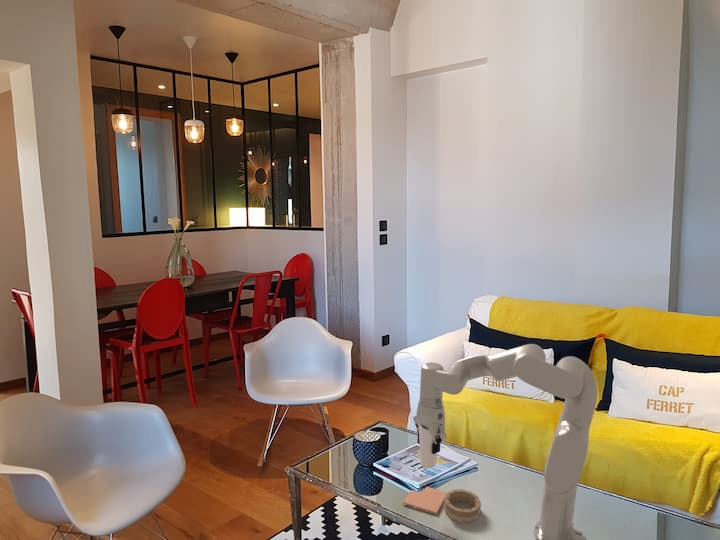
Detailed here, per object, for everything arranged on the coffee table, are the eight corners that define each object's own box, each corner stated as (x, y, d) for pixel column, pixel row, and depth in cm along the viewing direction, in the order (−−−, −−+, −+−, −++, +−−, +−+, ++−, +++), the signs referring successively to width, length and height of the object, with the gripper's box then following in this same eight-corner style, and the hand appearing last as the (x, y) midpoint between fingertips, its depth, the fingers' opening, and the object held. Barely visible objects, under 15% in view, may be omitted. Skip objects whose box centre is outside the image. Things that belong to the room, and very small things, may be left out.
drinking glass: (441, 464, 192) (443, 424, 189) (430, 472, 187) (432, 432, 184) (425, 456, 197) (427, 418, 193) (413, 465, 192) (415, 425, 188)
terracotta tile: (446, 494, 198) (447, 492, 198) (436, 514, 188) (436, 512, 187) (415, 485, 203) (415, 483, 203) (403, 504, 193) (403, 502, 192)
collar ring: (483, 505, 193) (483, 495, 192) (474, 526, 182) (475, 515, 181) (449, 495, 198) (450, 485, 197) (439, 515, 187) (440, 505, 186)
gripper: (457, 407, 181) (454, 456, 186) (422, 387, 195) (420, 433, 199) (440, 413, 177) (437, 463, 181) (405, 392, 191) (403, 439, 195)
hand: (428, 447), depth 190 cm, fingers closed on drinking glass, 6 cm apart
